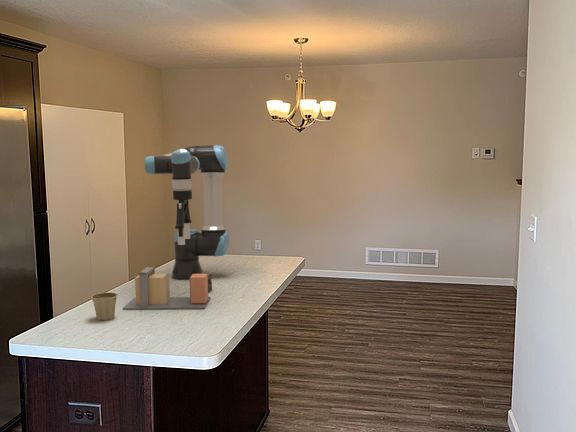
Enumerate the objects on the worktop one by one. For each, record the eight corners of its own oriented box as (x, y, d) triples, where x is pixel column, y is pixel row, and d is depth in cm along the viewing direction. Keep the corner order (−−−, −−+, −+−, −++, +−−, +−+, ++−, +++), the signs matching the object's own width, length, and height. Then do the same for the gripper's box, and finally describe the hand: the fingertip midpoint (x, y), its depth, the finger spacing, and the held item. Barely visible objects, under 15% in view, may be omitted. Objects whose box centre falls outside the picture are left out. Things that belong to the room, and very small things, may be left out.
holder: (134, 299, 232) (132, 265, 231) (210, 298, 232) (209, 265, 231) (122, 309, 216) (121, 274, 215) (204, 309, 216) (203, 273, 215)
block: (193, 298, 228) (192, 273, 226) (208, 298, 227) (207, 273, 226) (190, 303, 221) (189, 277, 219) (205, 303, 220) (204, 277, 219)
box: (207, 293, 241) (207, 277, 241) (194, 293, 243) (194, 276, 242) (212, 290, 247) (211, 274, 247) (199, 289, 249) (199, 273, 248)
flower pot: (103, 323, 199) (102, 299, 198) (86, 319, 204) (85, 296, 203) (124, 316, 207) (123, 294, 206) (107, 313, 212) (106, 291, 211)
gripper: (178, 187, 236) (180, 236, 238) (166, 192, 211) (169, 247, 214) (196, 187, 236) (197, 236, 238) (186, 192, 211) (188, 247, 214)
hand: (184, 241), depth 226 cm, fingers open, 13 cm apart
